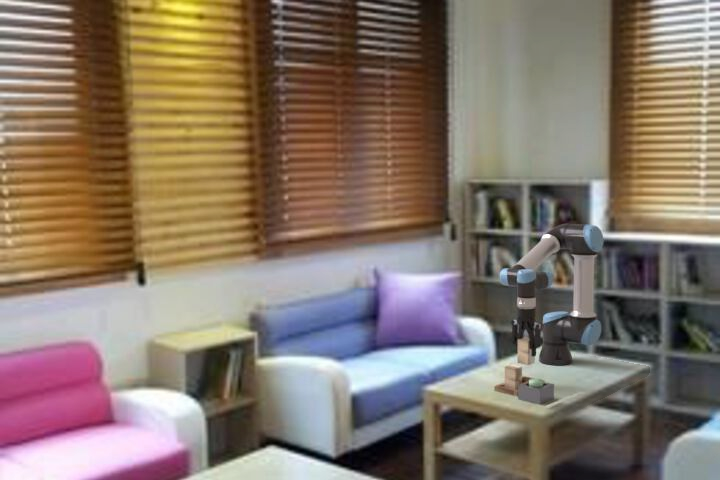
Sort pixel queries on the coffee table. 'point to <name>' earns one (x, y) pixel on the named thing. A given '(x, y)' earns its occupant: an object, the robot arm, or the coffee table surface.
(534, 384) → the button
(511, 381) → the seated billet
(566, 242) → the robot arm
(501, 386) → the wooden divided tray
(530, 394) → the grey square bin
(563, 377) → the coffee table surface
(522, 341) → the billet
